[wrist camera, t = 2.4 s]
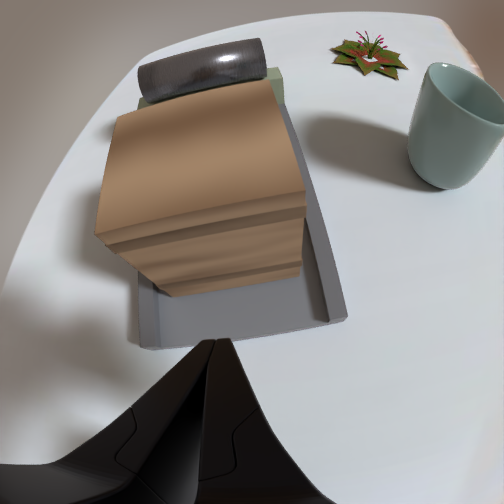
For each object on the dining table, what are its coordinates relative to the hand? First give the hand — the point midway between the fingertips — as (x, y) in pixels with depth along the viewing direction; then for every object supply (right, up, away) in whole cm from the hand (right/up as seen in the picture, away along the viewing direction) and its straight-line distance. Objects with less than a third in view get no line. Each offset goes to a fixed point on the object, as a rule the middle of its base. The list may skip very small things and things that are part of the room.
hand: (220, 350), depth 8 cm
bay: (-1, +7, +16) cm, 18 cm away
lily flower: (+17, +30, +25) cm, 42 cm away
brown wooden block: (-1, +4, +14) cm, 14 cm away
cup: (+19, +11, +16) cm, 27 cm away
